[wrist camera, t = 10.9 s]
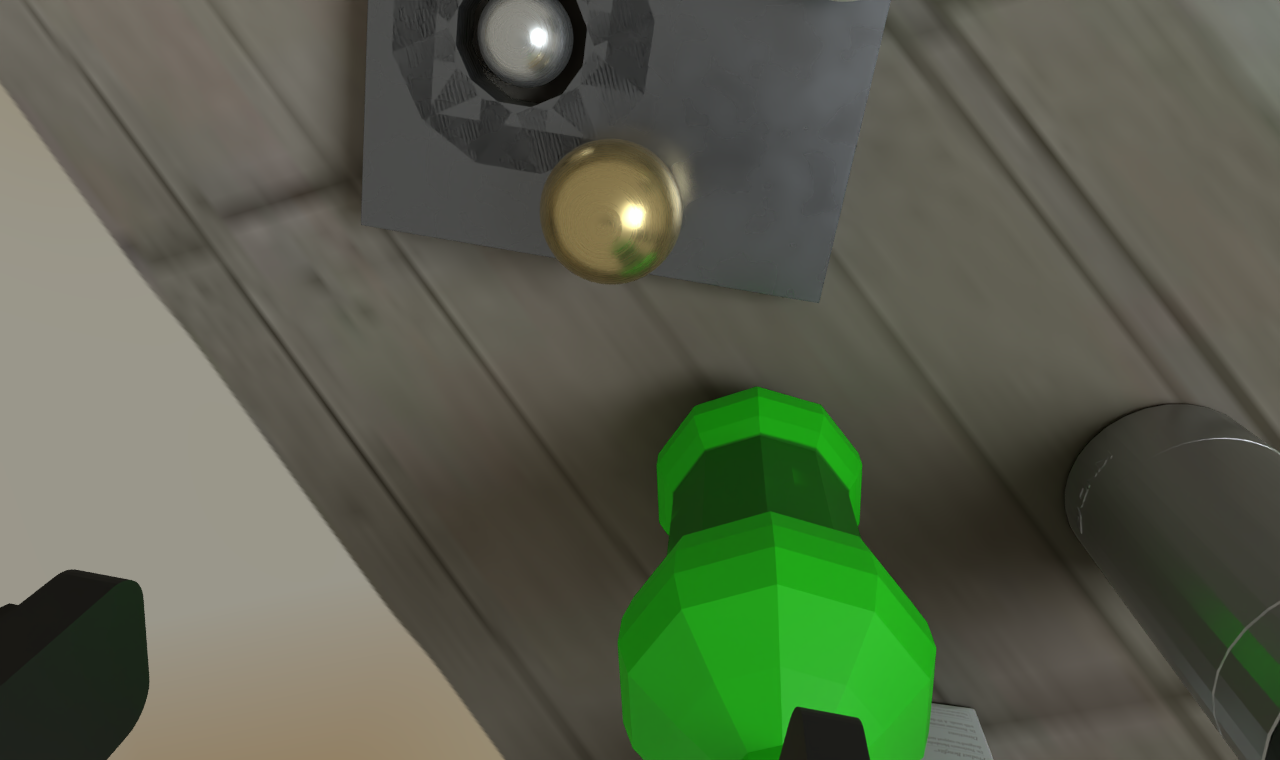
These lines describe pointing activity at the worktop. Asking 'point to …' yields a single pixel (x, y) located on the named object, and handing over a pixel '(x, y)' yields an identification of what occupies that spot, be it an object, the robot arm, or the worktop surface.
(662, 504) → the plastic bottle
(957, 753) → the supplement box
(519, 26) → the steel ball
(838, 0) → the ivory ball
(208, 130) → the worktop surface
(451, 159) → the plate
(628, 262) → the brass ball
